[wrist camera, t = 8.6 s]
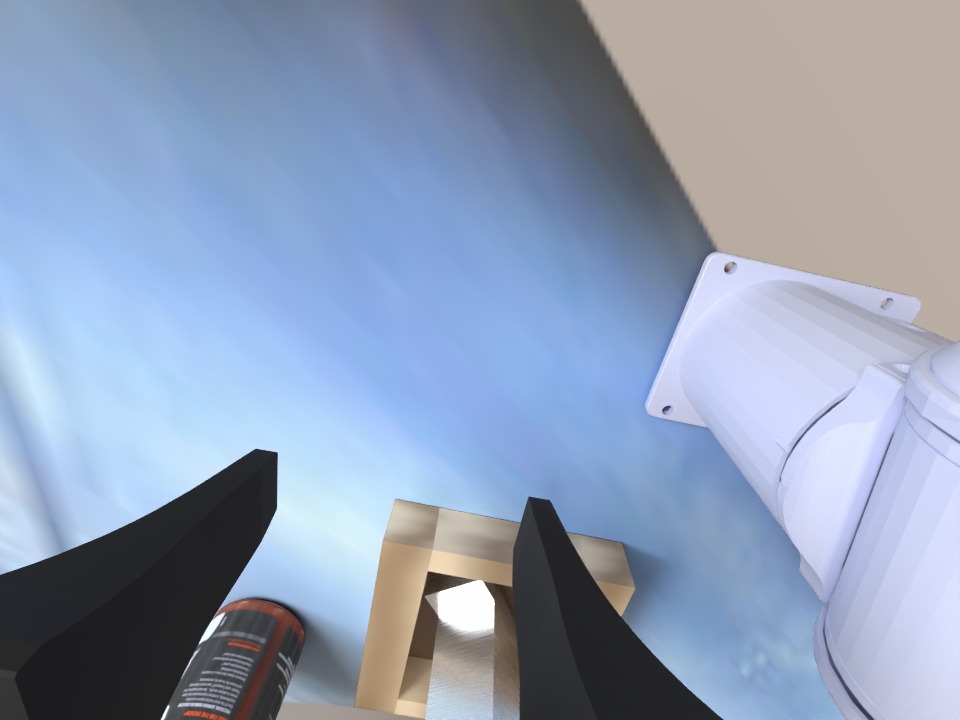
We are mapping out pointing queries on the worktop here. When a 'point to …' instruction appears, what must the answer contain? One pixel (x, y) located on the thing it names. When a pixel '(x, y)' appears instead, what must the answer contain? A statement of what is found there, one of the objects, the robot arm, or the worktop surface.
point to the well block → (458, 552)
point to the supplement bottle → (240, 665)
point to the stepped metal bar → (472, 651)
